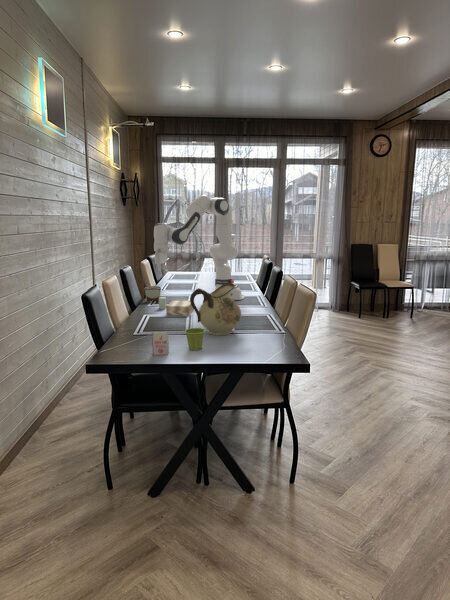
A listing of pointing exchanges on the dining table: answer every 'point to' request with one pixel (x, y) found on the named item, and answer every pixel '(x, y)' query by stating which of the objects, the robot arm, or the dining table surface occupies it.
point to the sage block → (162, 303)
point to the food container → (152, 293)
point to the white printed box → (160, 344)
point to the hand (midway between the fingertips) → (161, 269)
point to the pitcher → (218, 310)
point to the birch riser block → (179, 308)
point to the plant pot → (195, 338)
